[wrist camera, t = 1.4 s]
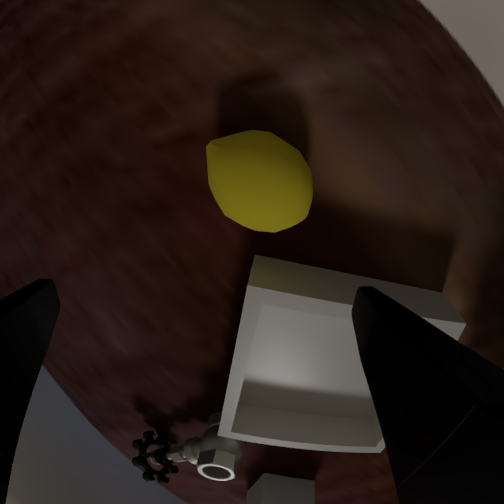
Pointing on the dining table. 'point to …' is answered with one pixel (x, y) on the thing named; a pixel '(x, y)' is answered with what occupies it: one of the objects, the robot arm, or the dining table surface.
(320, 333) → the walled box
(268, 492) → the medicine bottle
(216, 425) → the valve
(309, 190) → the lemon
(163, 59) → the dining table surface
